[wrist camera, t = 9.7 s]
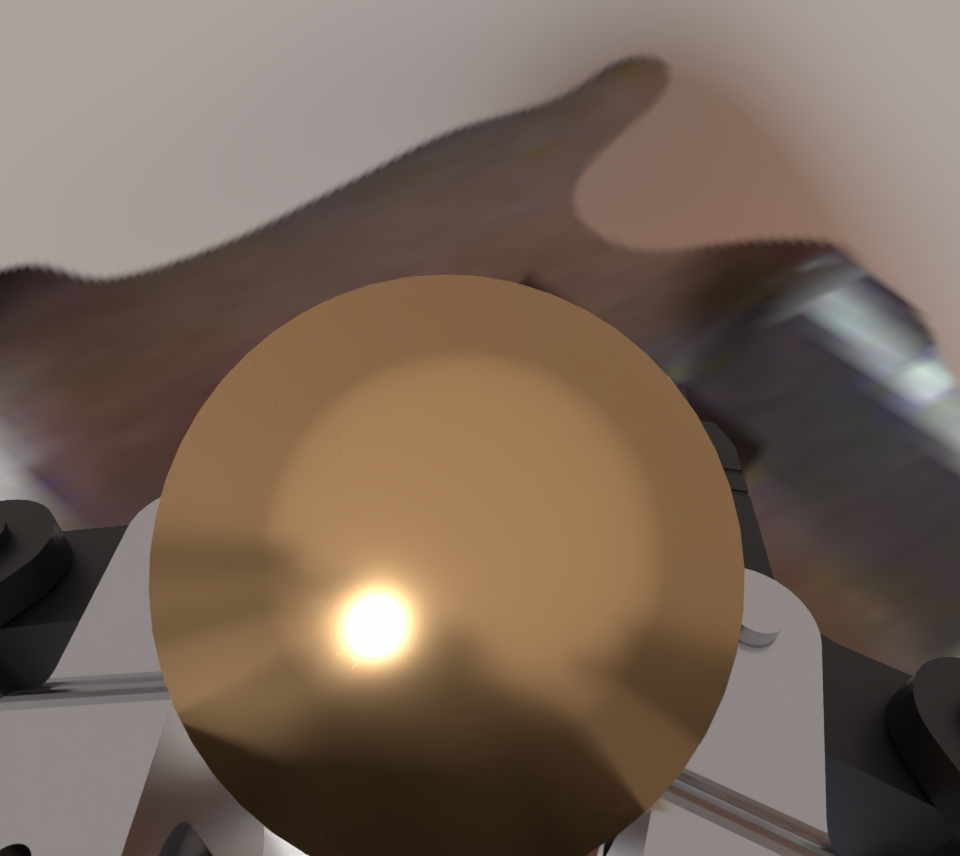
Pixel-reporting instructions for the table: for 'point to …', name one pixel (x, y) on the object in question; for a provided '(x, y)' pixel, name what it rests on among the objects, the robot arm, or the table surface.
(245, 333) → the table surface
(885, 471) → the table surface
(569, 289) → the table surface
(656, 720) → the battery cell
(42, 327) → the table surface
